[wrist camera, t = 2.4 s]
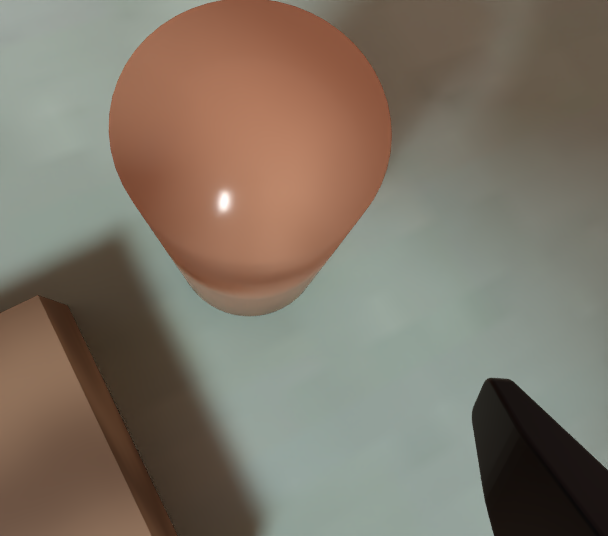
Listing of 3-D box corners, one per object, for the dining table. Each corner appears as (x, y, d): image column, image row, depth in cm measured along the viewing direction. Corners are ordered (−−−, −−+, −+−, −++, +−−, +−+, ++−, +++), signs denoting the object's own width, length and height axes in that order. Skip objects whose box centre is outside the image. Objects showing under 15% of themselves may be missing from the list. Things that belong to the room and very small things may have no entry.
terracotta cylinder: (344, 275, 22) (440, 186, 11) (217, 341, 21) (187, 314, 10) (279, 155, 22) (310, -40, 12) (153, 214, 21) (60, 61, 11)
